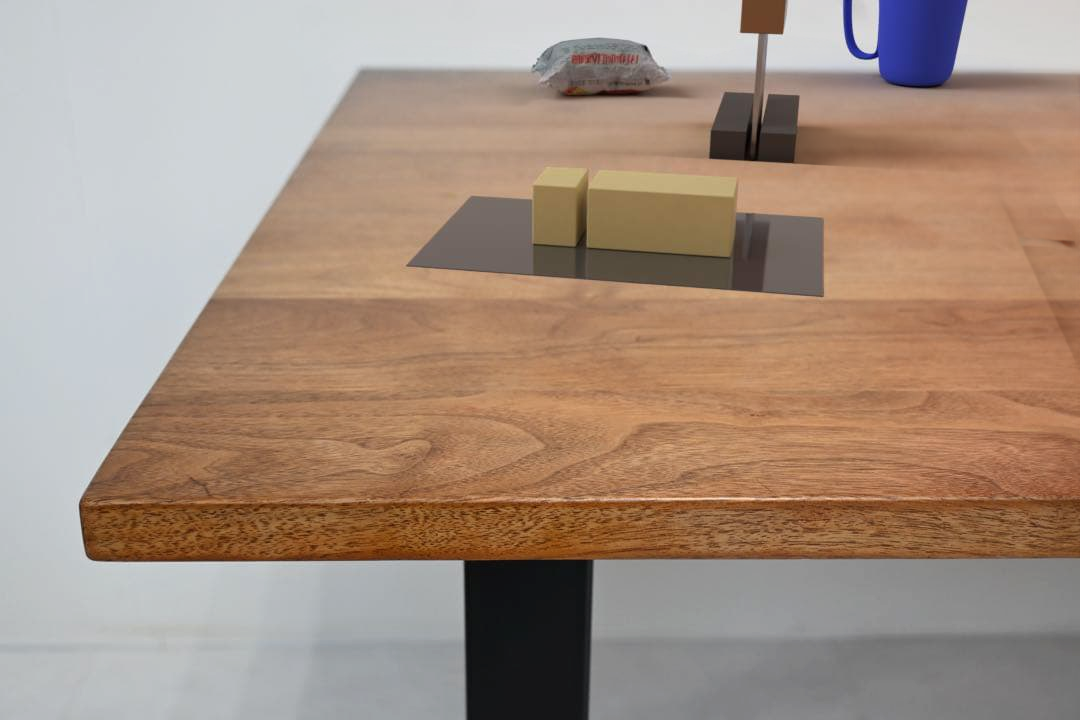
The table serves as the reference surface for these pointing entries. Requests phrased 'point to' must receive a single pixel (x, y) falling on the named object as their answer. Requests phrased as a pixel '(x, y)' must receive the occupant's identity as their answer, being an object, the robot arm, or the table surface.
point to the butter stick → (662, 213)
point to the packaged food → (599, 67)
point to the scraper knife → (761, 49)
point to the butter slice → (560, 206)
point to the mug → (913, 39)
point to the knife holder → (736, 128)
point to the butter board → (630, 252)
